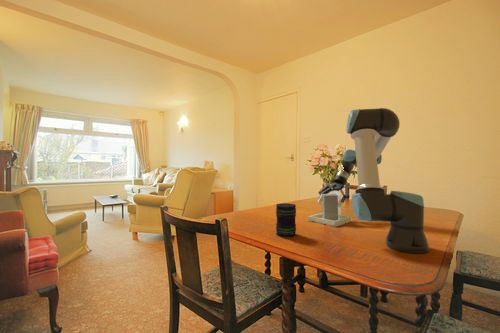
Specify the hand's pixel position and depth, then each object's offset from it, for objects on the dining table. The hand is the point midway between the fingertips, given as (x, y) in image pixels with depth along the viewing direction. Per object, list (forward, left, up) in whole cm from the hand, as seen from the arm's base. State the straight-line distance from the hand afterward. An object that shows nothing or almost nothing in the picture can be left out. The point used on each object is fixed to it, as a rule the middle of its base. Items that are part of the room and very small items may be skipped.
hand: (328, 204), depth 146 cm
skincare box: (+1, 0, -10) cm, 10 cm away
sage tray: (+1, 0, -10) cm, 10 cm away
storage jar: (-40, -1, -11) cm, 42 cm away
